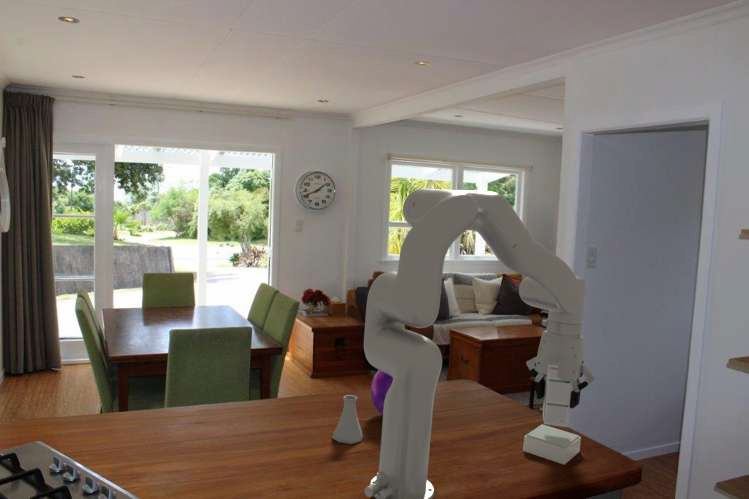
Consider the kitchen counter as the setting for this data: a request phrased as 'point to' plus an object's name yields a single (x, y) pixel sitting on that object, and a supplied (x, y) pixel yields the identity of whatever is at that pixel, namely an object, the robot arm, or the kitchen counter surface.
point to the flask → (348, 423)
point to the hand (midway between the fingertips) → (556, 401)
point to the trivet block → (552, 444)
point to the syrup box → (556, 398)
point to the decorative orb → (380, 389)
